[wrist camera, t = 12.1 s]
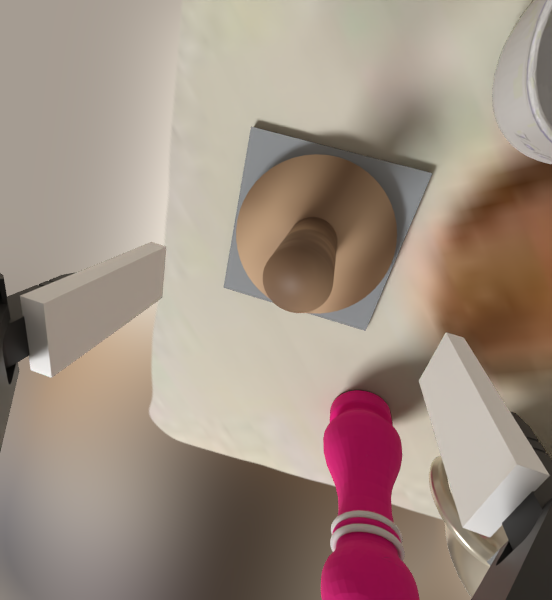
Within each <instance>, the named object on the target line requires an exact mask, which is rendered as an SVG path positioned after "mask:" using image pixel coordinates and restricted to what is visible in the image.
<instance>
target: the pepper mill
mask: <svg viewBox="0 0 552 600" xmlns="http://www.w3.org/2000/svg"><path fill="white" fill-rule="evenodd" d="M323 440H324V455H325V459H326V463H327V466H328V468H329V471H330V473H331V476H332V478H333V481H334V483H335V486H336V490H337V494H338V502H339V512H338V516H337V517H336V519H334V521H333V523H332V525H331V533H332V537H331V540H330V543H331V548H332V550H333V553H332V554H331V555H330V556H329V557H328V559H327V561H326V562H325V565H324V568H323V570H322V577H321V595H322V600H419V594H418V590H417V586H416V583H415V580H414V578H413V576H412V573H411V572H410V570H409V569H408V568H407V566H406V565H405V564H404V563H403V559H404V548H403V546H402V534H401V532H400V530H399V528H398V527H397V526H396V525H395V524H394V522H393V518H392V509H391V494H392V489H393V485H394V483H395V481H396V478H397V476H398V473H399V470H400V467H401V461H402V446H401V440H400V437H399V435H398V433H397V431H396V429H395V428H394V427H393V426H392V418H391V413H390V409H389V407H388V405H387V403H386V402H385V401H384V400H383V399H382V398H380V397H379V396H377V395H375V394H373V393H371V392H368V391H360V390H355V391H349V392H346V393H343V394H341V395H340V396H338V397H337V398H336V399H335V400H334V402H333V404H332V406H331V410H330V424H329V425H328V426H327V428H326V430H325V433H324V438H323Z"/></svg>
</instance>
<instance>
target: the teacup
mask: <svg viewBox="0 0 552 600" xmlns="http://www.w3.org/2000/svg"><path fill="white" fill-rule="evenodd" d="M492 102H493V110H494V115H495V119H496V121H497V124H498V126H499V128H500V130H501V132H502V133H503V135H504V137H505V138H506V139H507V141H508V142H509V143H510V144H511V145H512V146H513V147H514V148H516V149H517V150H518V151H520V152H521V153H523V154H524V155H526V156H528V157H530V158H532V159H535V160H538V161H541V162H544V163H548V164H552V0H533V1H532V3H531V4H530V5H529V6H528V8H527V9H526V10H525V12H524V13H523V14H522V16H521V17H520V19H519V20H518V22H517V23H516V25H515V27H514V28H513V30H512V31H511V33H510V35H509V37H508V39H507V41H506V43H505V45H504V47H503V50H502V52H501V55H500V57H499V60H498V64H497V67H496V71H495V74H494V80H493V88H492Z"/></svg>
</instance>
